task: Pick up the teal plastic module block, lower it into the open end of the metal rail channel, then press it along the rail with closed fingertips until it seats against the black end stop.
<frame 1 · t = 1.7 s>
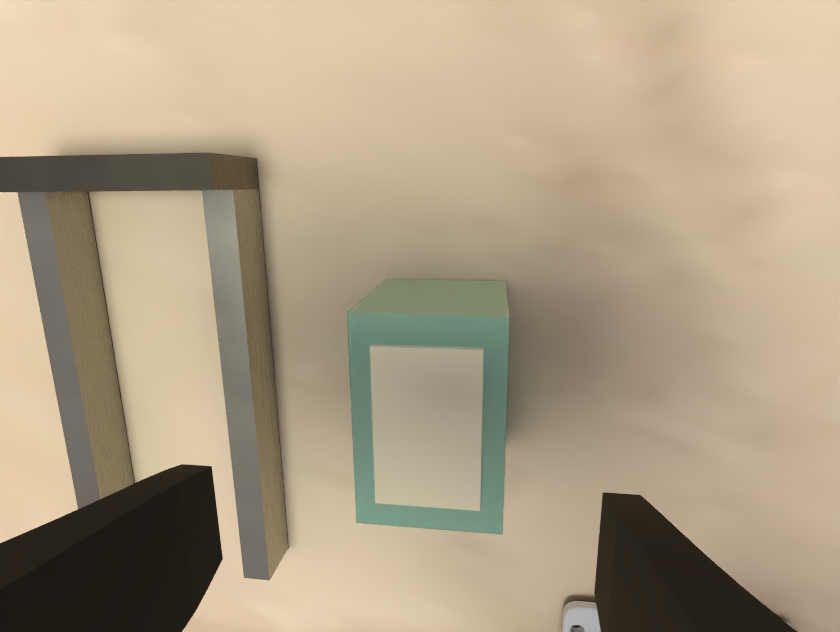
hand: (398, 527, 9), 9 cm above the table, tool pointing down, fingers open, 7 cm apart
module: (445, 363, 18), on the table
rail: (182, 380, 20), on the table
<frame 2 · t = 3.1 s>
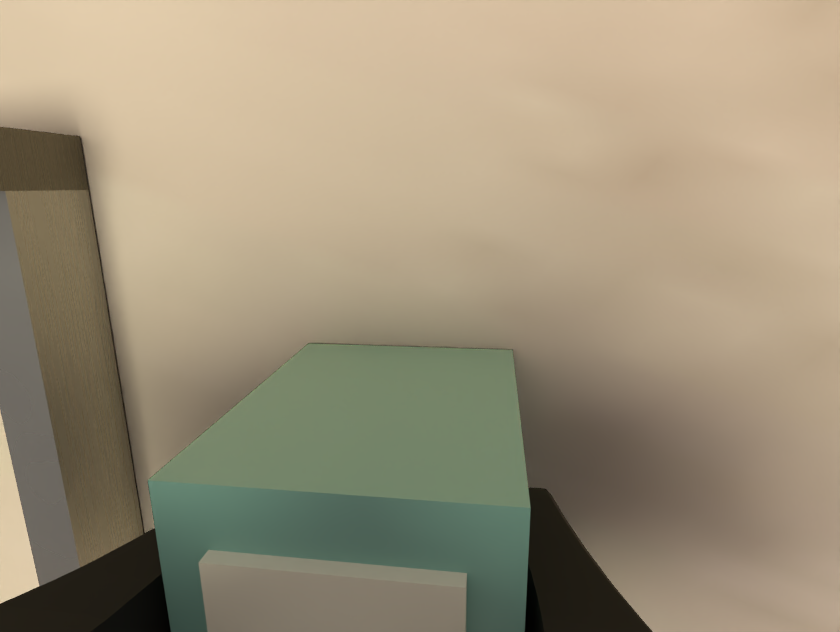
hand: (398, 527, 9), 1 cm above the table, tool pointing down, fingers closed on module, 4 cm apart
module: (410, 484, 11), on the table, touching gripper
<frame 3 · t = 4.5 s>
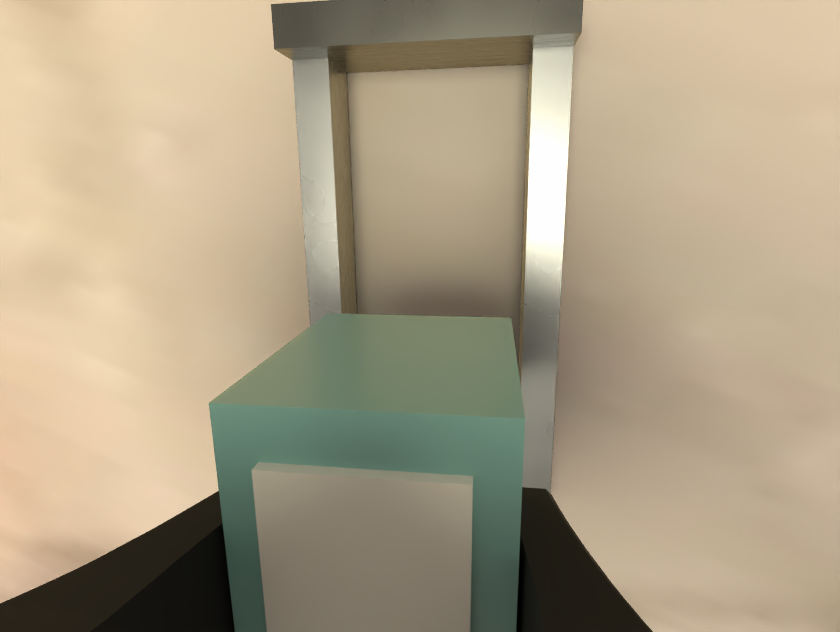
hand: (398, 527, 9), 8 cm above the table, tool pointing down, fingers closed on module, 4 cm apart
module: (418, 442, 12), point 6 cm above the table, touching gripper
rail: (436, 300, 17), on the table
when the fingers open (3 cm above the table, at t = 6.0 s): module stays where it is, resting in rail.
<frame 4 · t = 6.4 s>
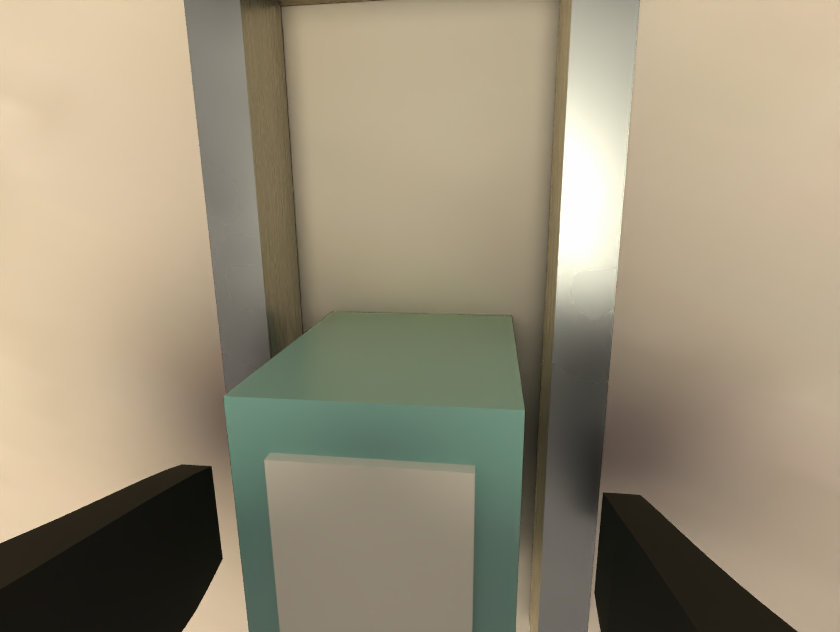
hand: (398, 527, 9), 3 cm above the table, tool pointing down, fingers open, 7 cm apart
module: (421, 435, 12), resting in rail
rail: (419, 347, 12), on the table
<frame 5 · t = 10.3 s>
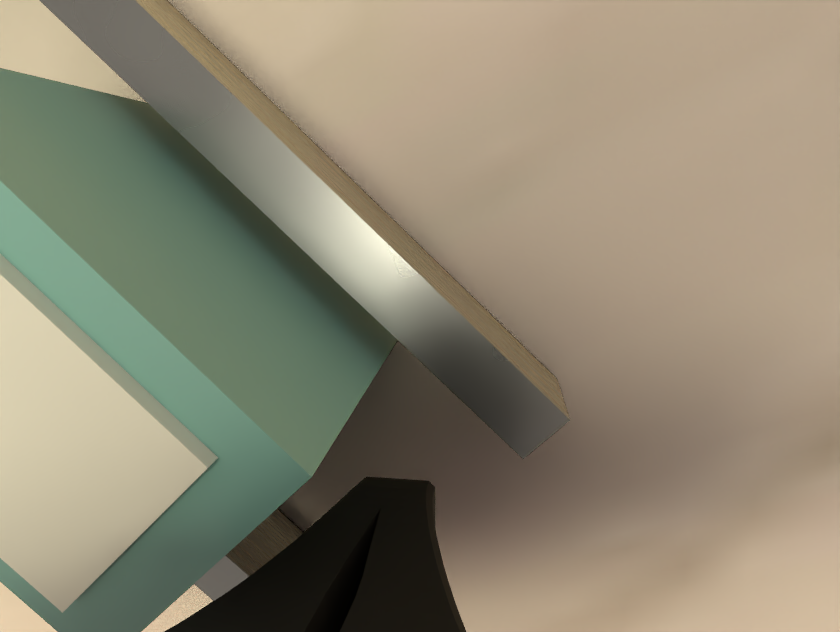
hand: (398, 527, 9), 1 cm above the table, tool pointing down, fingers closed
module: (224, 297, 10), resting in rail, touching gripper
rail: (169, 259, 10), on the table
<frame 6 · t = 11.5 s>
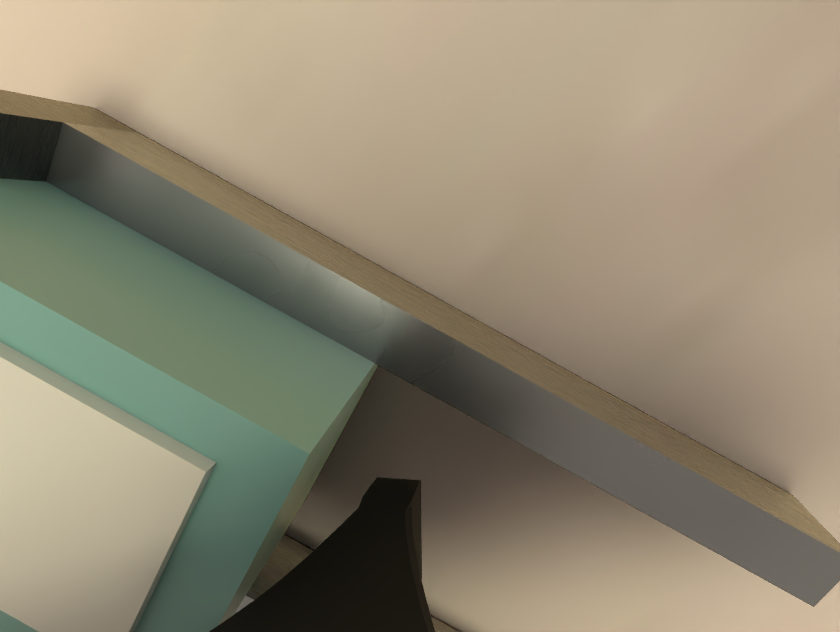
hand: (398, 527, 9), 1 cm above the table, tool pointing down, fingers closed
module: (218, 348, 10), resting in rail, touching gripper
rail: (378, 464, 11), on the table
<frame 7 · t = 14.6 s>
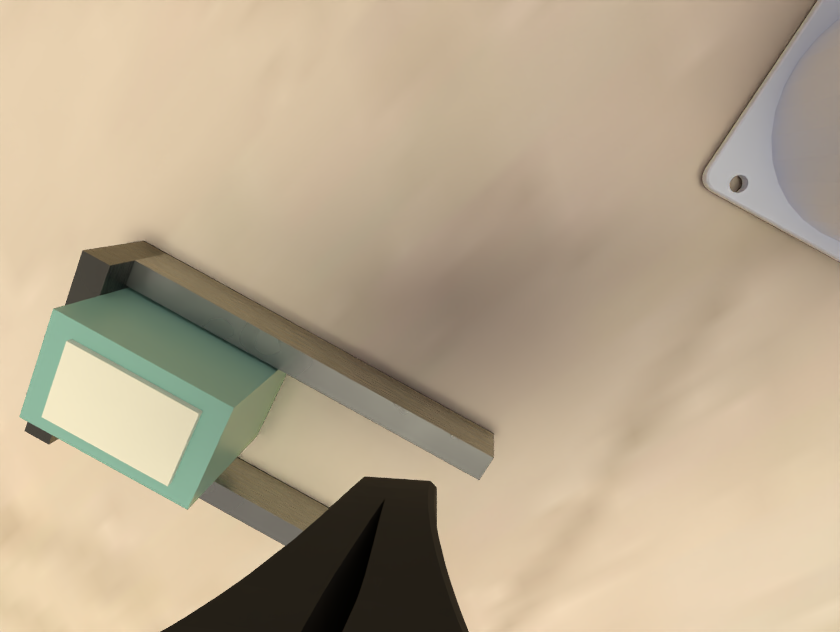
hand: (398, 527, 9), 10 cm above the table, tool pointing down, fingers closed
module: (209, 359, 20), resting in rail
rail: (291, 421, 20), on the table
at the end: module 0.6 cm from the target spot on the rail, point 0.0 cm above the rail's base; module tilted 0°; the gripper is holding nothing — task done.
